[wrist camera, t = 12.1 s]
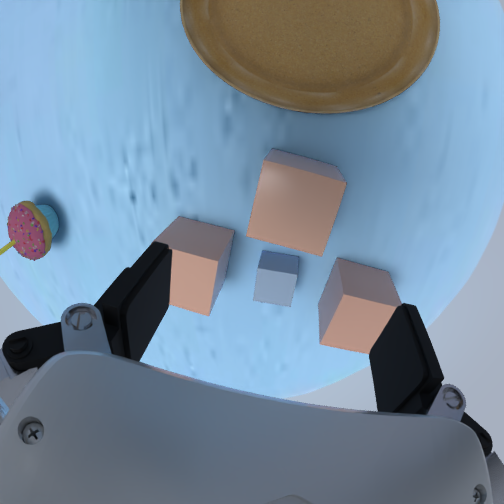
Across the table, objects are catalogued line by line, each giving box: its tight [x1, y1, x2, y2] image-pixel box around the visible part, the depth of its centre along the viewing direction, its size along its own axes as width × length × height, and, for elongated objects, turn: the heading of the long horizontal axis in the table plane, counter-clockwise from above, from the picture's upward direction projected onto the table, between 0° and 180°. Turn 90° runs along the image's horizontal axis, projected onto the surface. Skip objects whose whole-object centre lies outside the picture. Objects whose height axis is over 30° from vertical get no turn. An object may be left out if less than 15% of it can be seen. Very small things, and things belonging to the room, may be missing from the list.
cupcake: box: [0, 201, 59, 261], centre depth 31 cm, size 9×8×12 cm
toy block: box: [246, 149, 347, 256], centre depth 26 cm, size 6×6×7 cm
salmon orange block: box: [318, 258, 402, 354], centre depth 30 cm, size 6×6×7 cm
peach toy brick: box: [151, 216, 235, 316], centre depth 31 cm, size 6×6×7 cm
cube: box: [253, 251, 299, 307], centre depth 32 cm, size 4×4×4 cm
